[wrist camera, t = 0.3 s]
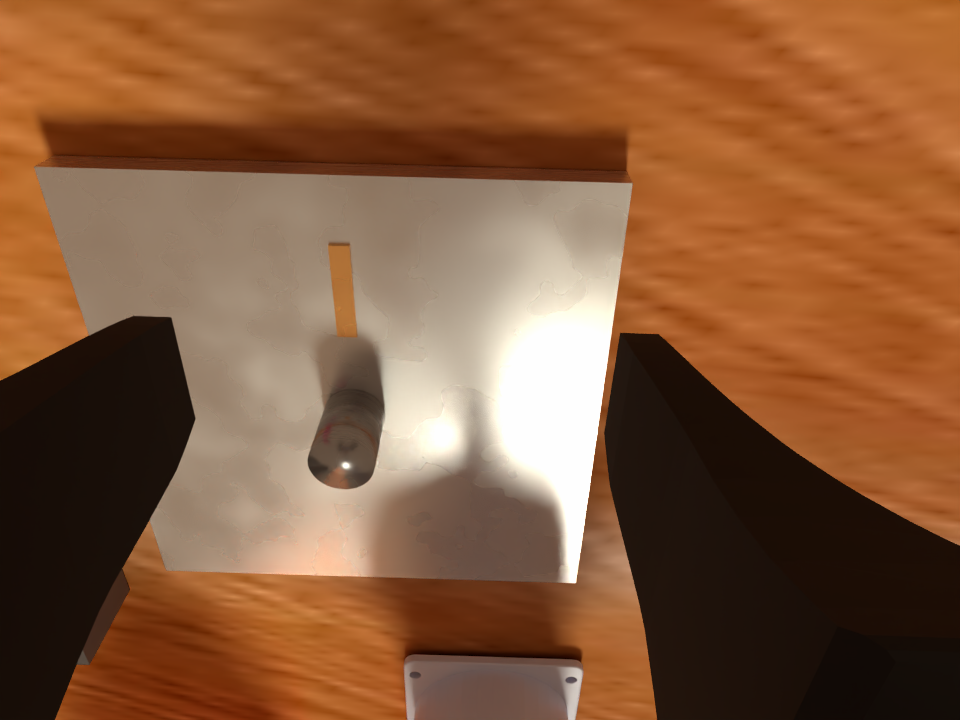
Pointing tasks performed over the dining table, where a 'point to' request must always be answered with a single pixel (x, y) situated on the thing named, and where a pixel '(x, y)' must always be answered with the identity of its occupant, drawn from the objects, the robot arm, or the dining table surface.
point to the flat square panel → (363, 354)
